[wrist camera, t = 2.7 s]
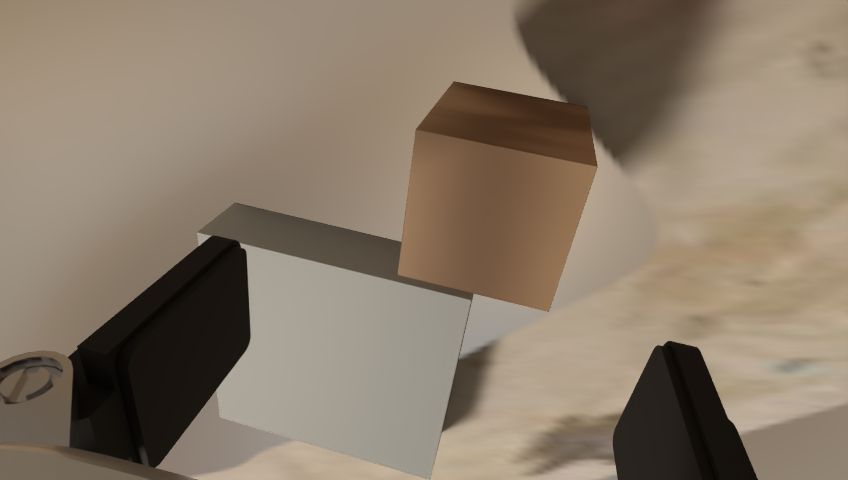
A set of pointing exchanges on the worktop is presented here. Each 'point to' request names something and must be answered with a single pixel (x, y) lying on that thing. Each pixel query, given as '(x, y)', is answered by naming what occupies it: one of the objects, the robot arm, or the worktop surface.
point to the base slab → (341, 341)
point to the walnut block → (496, 193)
